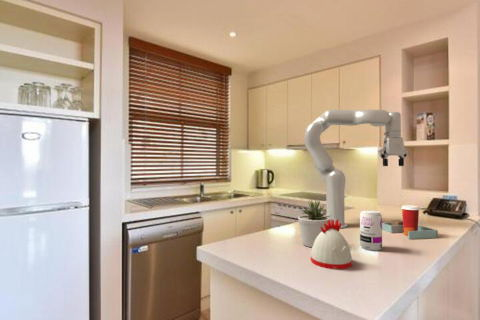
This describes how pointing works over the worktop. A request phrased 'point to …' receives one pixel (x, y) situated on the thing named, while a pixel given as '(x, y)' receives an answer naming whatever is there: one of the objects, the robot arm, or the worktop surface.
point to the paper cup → (410, 218)
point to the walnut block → (396, 222)
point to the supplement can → (370, 230)
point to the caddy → (420, 234)
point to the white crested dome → (331, 248)
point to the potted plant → (312, 223)
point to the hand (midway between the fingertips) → (393, 166)
